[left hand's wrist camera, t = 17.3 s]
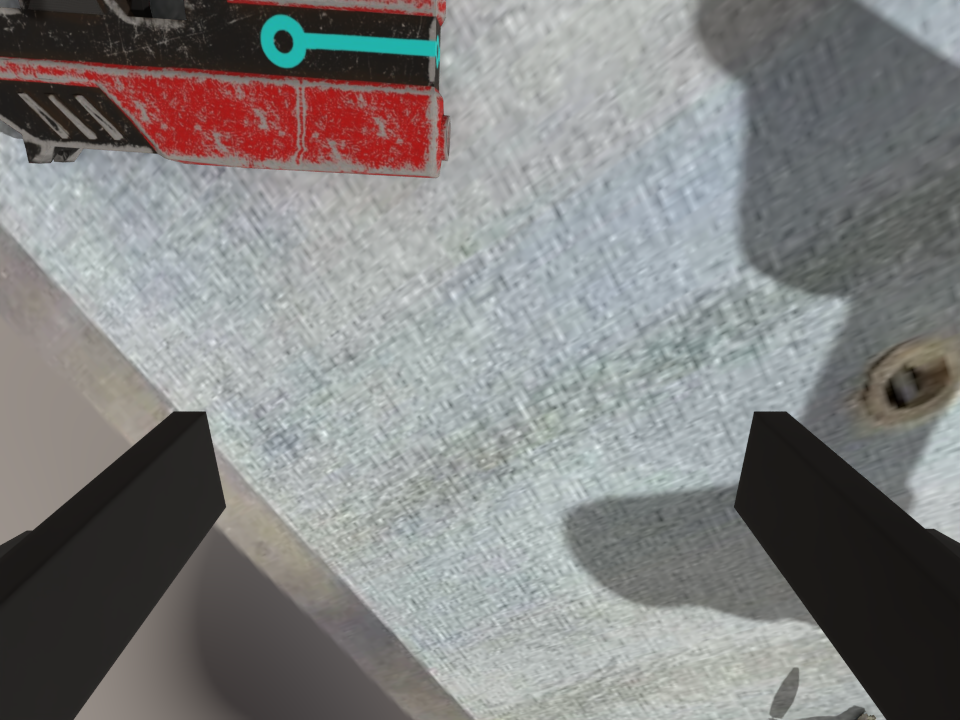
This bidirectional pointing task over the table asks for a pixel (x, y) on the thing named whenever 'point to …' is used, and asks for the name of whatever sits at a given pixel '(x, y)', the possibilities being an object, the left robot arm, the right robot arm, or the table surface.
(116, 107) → the gun
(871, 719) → the bow
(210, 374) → the table surface
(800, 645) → the table surface
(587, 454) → the table surface
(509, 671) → the table surface
